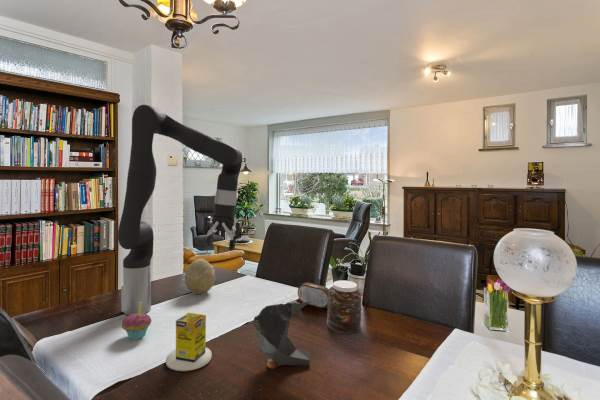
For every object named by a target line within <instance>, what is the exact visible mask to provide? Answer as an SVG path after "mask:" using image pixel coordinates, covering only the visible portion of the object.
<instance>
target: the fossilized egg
mask: <svg viewBox="0 0 600 400" xmlns="http://www.w3.org/2000/svg"><path fill="white" fill-rule="evenodd" d="M215 281H216V273H215V270H214V268H213V265H212V264H211V263H210V262H208V260H206V259H204V258H198V259H195V260H194V261H192V262H191V263H190V264H189V265H188V267H187V269H186V270H185V273H184V284H185V286H186V288H187V289H188V290H189V292H191V293H193V294H196V295H203V294H205V293H208V291H210V290H211V289H212V288H213V286H214V284H215Z"/></svg>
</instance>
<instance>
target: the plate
mask: <svg viewBox="0 0 600 400" xmlns="http://www.w3.org/2000/svg"><path fill="white" fill-rule="evenodd" d="M212 354H213V353H212V351H211V349H210V348H208V347H206V349H205V353H204V354H203V355H201V356H200V357H199V358H198V359H197V360H196V361H195V362H189V361H183V360H178V359H176V349H174V350H172V351H171V352H169V353H168V354H167V356H166V358H165V364H166V366H167V368H169V369H170V370H173V371H176V372H177V371H178V372H189V371H194V370H198V369H200V368H202V367H205V366H206V365H208V364H209V362H210V361H211V360H212V356H213V355H212Z"/></svg>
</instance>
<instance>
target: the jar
mask: <svg viewBox="0 0 600 400" xmlns="http://www.w3.org/2000/svg"><path fill="white" fill-rule="evenodd" d="M328 289H329V291H328V306H327V307H326V308H327V310H326V313H327V314H326V316H327V317H326V326H327V328H328V329H329V330H330V331H332V332H334V333H338V334H342V335H352V334H356V333H359V332H360V331H361V329H362V325H361V324H362V301H363V300H362V299H363V297H362V291H361V289H359V288H358V284H357V283H356V282H354V281H351V280H345V279H344V280H335V281H334V282H333V283H332V286H330V287H329V288H328Z"/></svg>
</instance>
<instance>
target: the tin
mask: <svg viewBox="0 0 600 400" xmlns="http://www.w3.org/2000/svg"><path fill="white" fill-rule="evenodd" d="M328 291H329V288H328V287H326V286H324V285H319V284H315V283H312V282H304V283H302V284H301V285H300V286H299V287H298V288H297V297H298V300H300V302H301V303H304V302H310V301H311V302H310V303H308V304H307V305H309V306H312V307H315V308H319V309H325V308H327V307H328Z"/></svg>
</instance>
